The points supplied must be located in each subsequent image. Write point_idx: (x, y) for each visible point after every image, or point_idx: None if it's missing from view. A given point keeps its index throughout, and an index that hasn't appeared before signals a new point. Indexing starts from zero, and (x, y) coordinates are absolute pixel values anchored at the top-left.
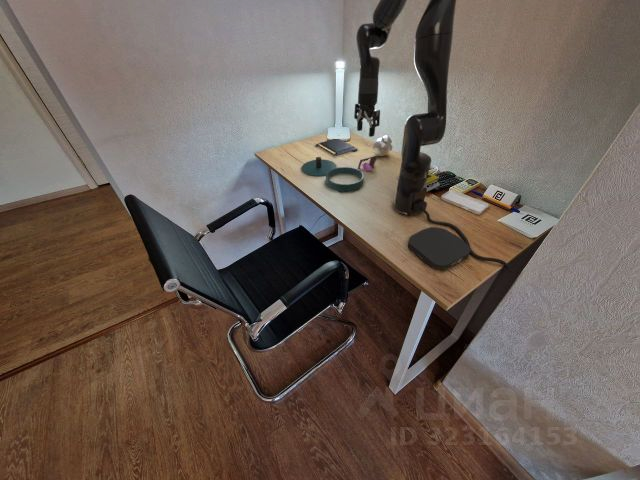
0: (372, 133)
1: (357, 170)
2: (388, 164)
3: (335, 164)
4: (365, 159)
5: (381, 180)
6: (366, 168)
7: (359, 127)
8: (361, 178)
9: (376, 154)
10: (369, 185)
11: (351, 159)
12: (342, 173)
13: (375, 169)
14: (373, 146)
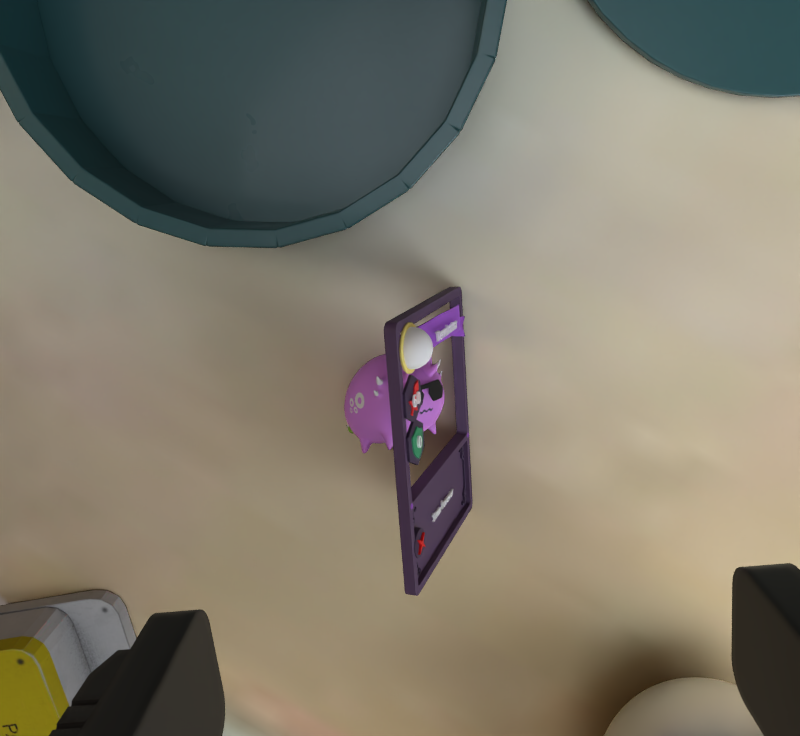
0: (82, 713)
1: (309, 219)
2: (438, 669)
3: (744, 84)
4: (392, 407)
5: (144, 422)
6: (357, 374)
7: (780, 657)
8: (63, 149)
9: (681, 678)
10: (90, 249)
11: (792, 381)
12: (468, 67)
13: None
14: None
